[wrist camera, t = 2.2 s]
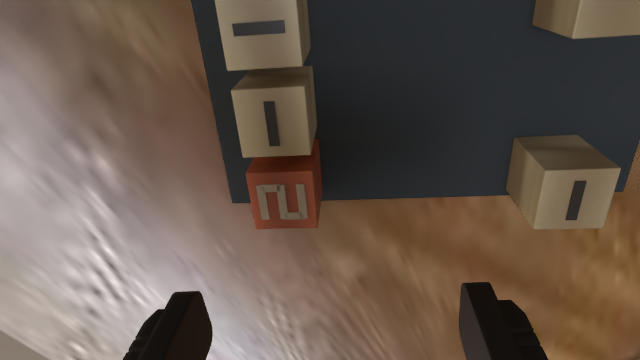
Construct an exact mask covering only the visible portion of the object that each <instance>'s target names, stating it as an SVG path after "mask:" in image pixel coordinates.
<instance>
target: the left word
mask: <svg viewBox="0 0 640 360" xmlns="http://www.w3.org/2000/svg"><path fill="white" fill-rule="evenodd" d="M215 5H216V11H217V17H218V22H219V28H220V33H221V39H222V44H223V50H224V56H225V61H226V67H227V70H228V71H236V70H250V71H249V72H248V73H247V74H246V75H245V76H244V77H243V78H242V79H241V80H240V82H239V83H238V84H237V85H236V86H235V87H234V88H233V89H232V90H231V94H232V100H233V105H234V111H235V117H236V122H237V128H238V133H239V139H240V145H241V150H242V156H243V157H244V158H247V157H272V156H297V155H311V152H312V147H313V142H314V137H315V133H316V128H317V114H316V102H315V90H314V78H313V67H312V66H311V65H309V66H303V64H304V62H305V60H306V58H307V55H308V53H309V51H310V49H311V41H310V28H309V16H308V4H307V0H215Z"/></svg>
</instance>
